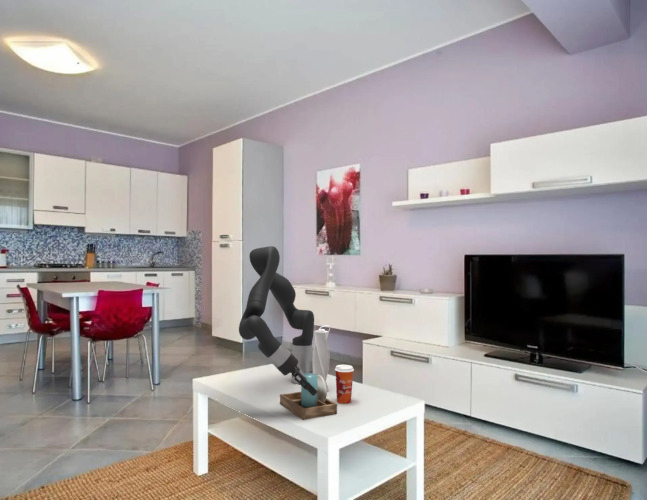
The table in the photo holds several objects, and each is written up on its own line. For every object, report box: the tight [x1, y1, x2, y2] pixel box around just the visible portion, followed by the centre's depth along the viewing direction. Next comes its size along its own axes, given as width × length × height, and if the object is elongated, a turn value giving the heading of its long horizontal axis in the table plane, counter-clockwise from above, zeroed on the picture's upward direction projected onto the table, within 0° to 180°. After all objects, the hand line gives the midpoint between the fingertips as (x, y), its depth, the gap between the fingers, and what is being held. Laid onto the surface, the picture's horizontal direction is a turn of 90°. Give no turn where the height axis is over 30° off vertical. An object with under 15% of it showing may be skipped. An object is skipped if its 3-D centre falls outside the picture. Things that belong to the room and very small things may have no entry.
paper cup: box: [334, 364, 355, 405], centre depth 177 cm, size 8×8×14 cm
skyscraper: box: [309, 324, 332, 393], centre depth 193 cm, size 8×8×28 cm
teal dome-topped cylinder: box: [300, 373, 318, 408], centre depth 163 cm, size 6×6×11 cm
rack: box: [279, 375, 338, 421], centre depth 168 cm, size 14×20×12 cm
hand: (314, 391), depth 163 cm, fingers closed on teal dome-topped cylinder, 6 cm apart
